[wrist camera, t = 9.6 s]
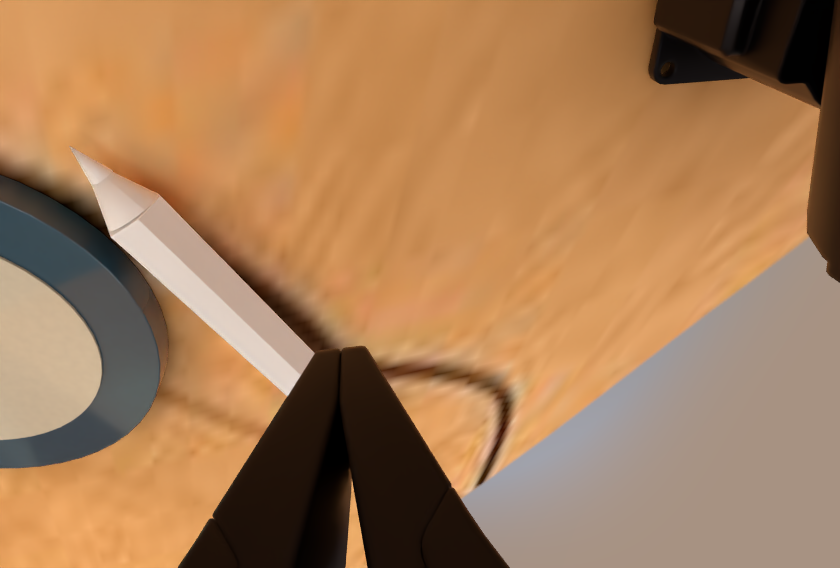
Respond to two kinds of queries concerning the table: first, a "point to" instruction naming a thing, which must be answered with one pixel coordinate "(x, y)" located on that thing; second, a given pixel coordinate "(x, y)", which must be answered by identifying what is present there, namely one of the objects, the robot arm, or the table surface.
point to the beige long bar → (196, 274)
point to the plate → (70, 334)
